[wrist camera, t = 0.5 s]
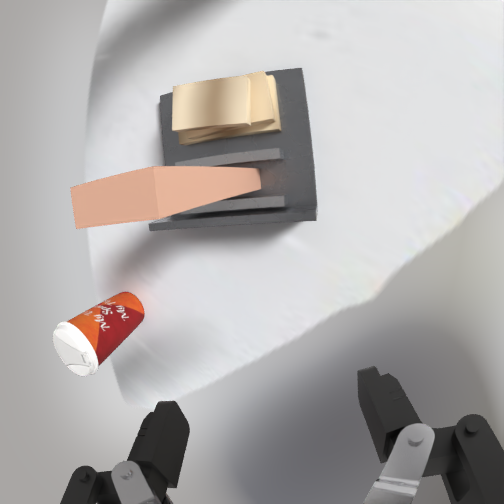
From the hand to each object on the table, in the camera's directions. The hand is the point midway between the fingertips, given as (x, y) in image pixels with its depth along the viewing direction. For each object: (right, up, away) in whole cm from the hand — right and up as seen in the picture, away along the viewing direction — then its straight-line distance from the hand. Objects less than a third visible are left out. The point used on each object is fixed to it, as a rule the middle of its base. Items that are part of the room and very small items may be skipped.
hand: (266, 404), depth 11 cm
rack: (-3, +18, +20) cm, 27 cm away
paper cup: (-19, -2, +30) cm, 36 cm away
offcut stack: (-3, +21, +18) cm, 28 cm away
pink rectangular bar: (-2, +14, +20) cm, 24 cm away
